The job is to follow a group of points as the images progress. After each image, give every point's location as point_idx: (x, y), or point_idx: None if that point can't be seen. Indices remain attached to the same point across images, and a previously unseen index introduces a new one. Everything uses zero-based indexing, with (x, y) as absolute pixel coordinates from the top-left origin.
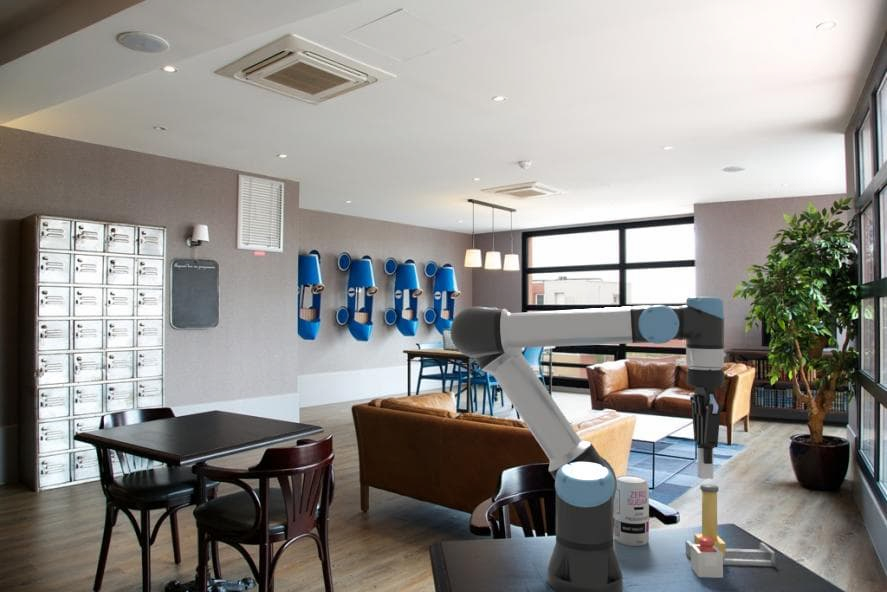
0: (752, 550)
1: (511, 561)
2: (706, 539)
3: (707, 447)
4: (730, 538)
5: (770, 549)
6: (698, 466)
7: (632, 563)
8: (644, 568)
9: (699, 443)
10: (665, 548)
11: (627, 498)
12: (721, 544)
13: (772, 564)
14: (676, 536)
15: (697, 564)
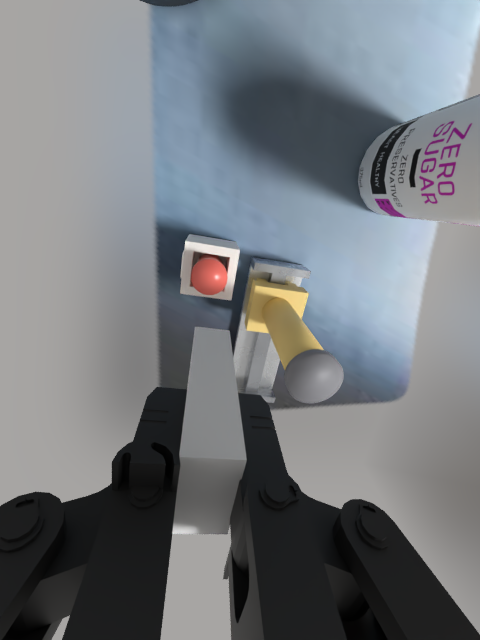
0: (256, 374)
1: None
2: (209, 278)
3: (70, 506)
4: (348, 375)
5: None
6: (225, 357)
7: (270, 108)
8: (239, 127)
9: (243, 498)
10: (334, 235)
11: (457, 118)
12: (247, 321)
13: None
14: (385, 288)
15: (194, 238)
